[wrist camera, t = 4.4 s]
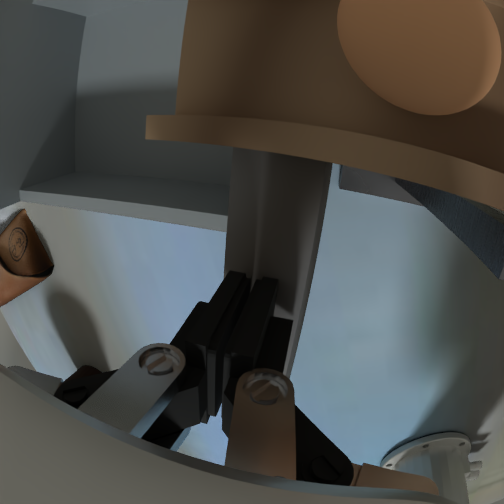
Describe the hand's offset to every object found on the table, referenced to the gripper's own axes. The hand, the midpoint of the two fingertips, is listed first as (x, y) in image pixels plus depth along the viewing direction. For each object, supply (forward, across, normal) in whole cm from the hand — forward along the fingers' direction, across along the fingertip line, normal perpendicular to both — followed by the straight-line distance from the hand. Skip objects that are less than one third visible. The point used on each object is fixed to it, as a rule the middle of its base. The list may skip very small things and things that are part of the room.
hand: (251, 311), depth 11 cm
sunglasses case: (+12, +33, +10) cm, 37 cm away
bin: (+12, +10, -9) cm, 18 cm away
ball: (-2, -3, -9) cm, 10 cm away
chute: (-1, -7, -4) cm, 8 cm away
